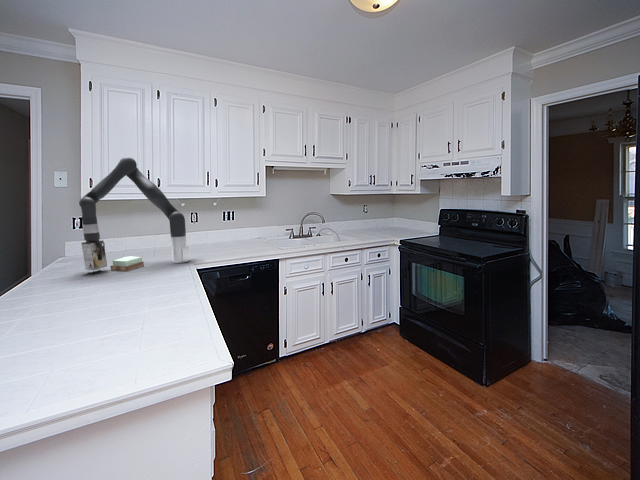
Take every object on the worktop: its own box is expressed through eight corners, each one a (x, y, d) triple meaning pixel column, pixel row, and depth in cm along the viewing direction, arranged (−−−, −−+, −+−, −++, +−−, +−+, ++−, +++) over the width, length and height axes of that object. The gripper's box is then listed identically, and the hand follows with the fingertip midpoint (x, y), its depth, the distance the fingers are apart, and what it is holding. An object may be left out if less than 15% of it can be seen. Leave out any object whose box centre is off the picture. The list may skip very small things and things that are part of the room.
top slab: (142, 261, 203) (141, 257, 203) (126, 266, 192) (126, 261, 191) (129, 260, 206) (128, 256, 205) (113, 265, 194) (112, 260, 194)
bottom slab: (144, 266, 204) (143, 261, 204) (127, 272, 192) (127, 266, 191) (128, 266, 207) (127, 260, 206) (111, 271, 194) (110, 265, 194)
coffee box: (98, 266, 195) (95, 240, 192) (107, 266, 194) (104, 240, 191) (85, 270, 186) (81, 243, 183) (94, 270, 185) (90, 243, 182)
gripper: (107, 231, 188) (110, 258, 191) (87, 230, 191) (91, 258, 194) (95, 232, 181) (99, 261, 184) (75, 232, 184) (79, 260, 187)
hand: (95, 259), depth 189 cm, fingers closed on coffee box, 6 cm apart
